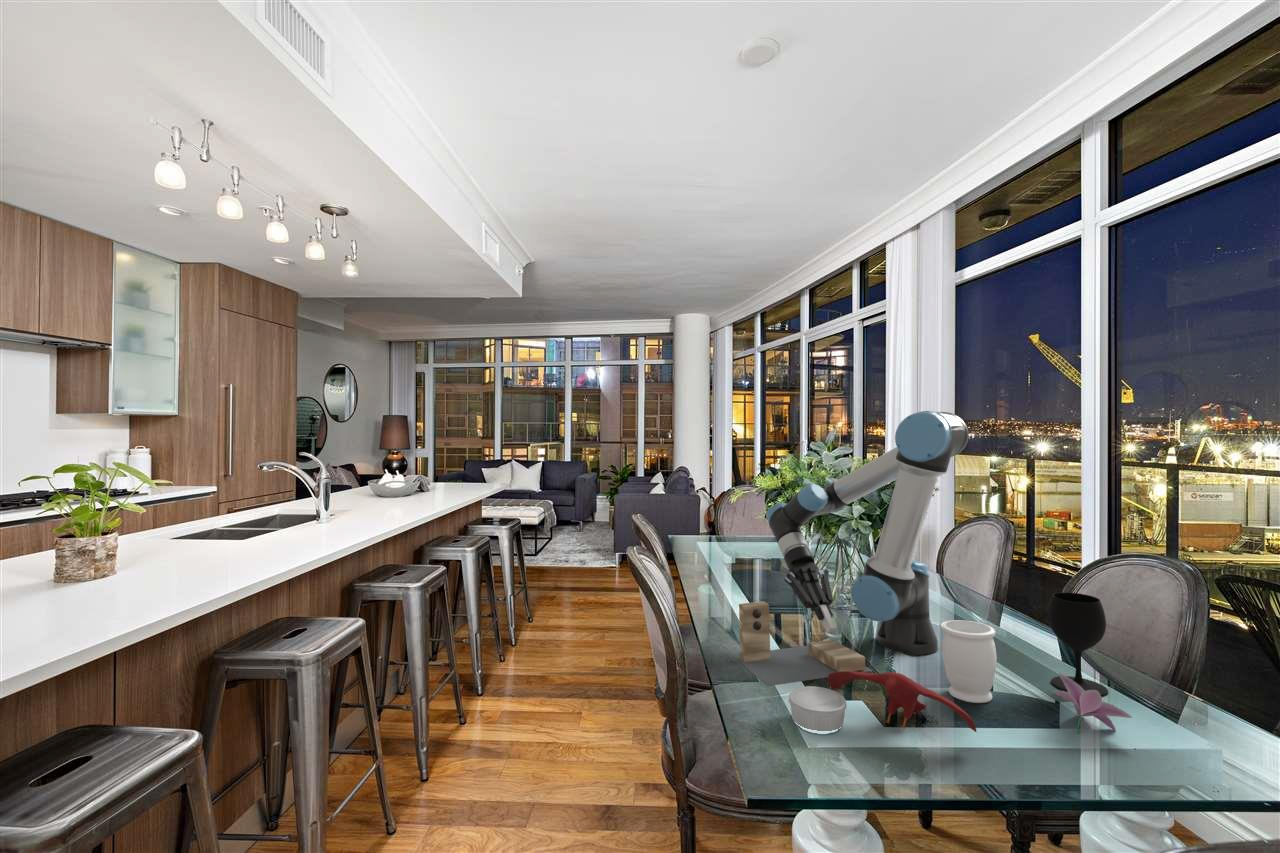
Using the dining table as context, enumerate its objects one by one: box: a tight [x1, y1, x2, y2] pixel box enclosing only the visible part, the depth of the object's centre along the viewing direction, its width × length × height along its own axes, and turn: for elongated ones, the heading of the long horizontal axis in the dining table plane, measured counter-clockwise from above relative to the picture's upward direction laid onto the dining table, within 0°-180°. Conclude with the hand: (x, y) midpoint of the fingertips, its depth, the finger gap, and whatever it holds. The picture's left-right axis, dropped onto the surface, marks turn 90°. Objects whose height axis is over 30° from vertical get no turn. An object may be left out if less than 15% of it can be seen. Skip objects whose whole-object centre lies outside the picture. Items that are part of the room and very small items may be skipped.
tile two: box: [738, 601, 771, 663], centre depth 152 cm, size 3×7×14 cm, turn 105°
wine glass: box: [1047, 592, 1109, 698], centre depth 133 cm, size 10×10×20 cm
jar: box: [941, 619, 997, 704], centre depth 130 cm, size 11×10×15 cm
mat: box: [731, 645, 874, 687], centre depth 149 cm, size 28×20×1 cm
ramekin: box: [788, 685, 847, 731], centre depth 119 cm, size 11×11×5 cm
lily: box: [1052, 673, 1133, 735], centre depth 114 cm, size 12×12×10 cm
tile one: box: [807, 639, 867, 672], centre depth 148 cm, size 3×7×14 cm
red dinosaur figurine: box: [827, 671, 978, 733], centre depth 118 cm, size 28×9×15 cm
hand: (831, 630), depth 150 cm, fingers closed
